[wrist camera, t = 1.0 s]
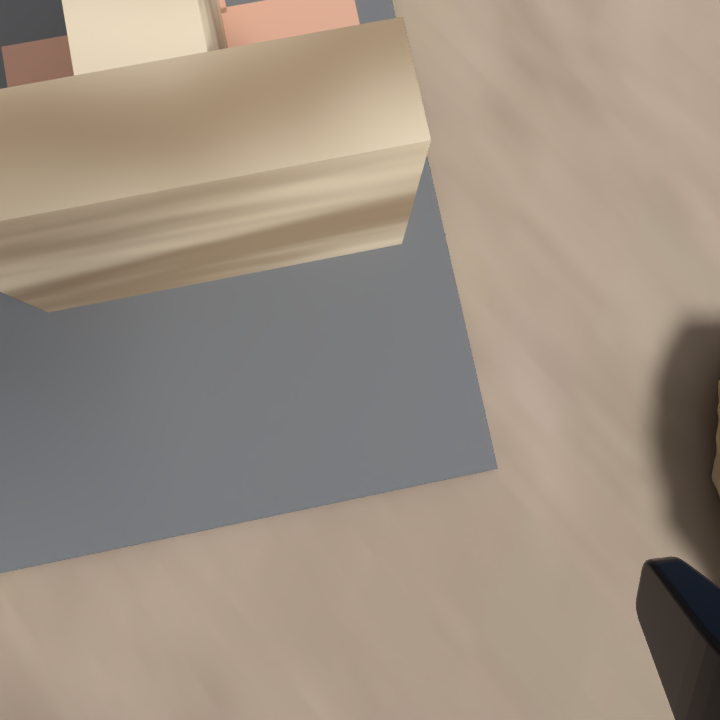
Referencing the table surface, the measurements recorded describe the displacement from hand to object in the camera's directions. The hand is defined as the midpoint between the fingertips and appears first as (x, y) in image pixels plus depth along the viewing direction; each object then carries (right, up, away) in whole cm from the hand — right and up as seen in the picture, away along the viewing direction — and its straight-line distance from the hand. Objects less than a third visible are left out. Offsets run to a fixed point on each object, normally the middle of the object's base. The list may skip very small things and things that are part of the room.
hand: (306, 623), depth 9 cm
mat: (-6, +11, +15) cm, 19 cm away
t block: (-5, +11, +15) cm, 19 cm away
